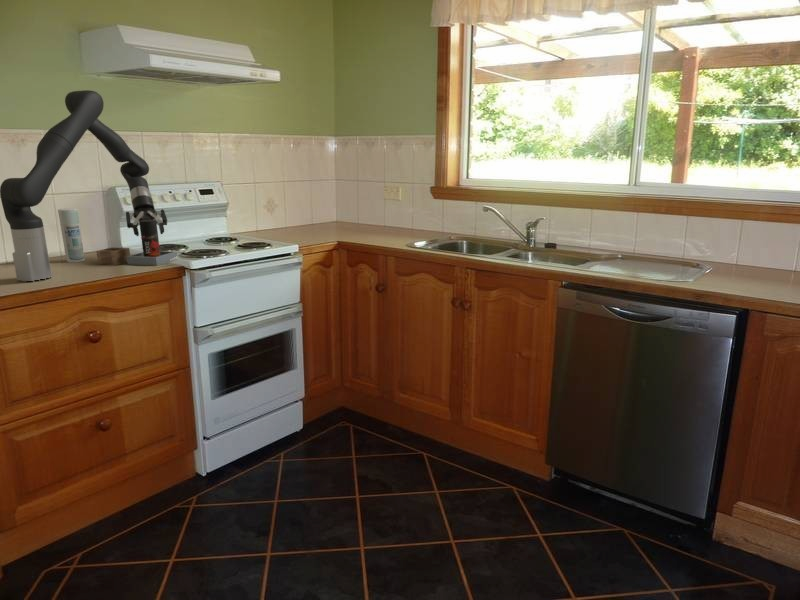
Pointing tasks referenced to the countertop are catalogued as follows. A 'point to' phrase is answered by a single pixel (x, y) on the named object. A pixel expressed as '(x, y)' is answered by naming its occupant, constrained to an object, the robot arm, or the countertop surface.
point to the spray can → (71, 234)
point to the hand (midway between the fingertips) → (150, 233)
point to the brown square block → (113, 255)
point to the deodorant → (149, 238)
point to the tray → (151, 258)
